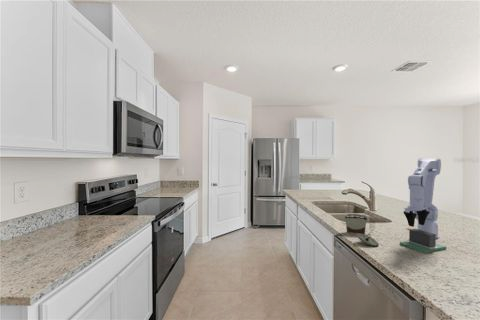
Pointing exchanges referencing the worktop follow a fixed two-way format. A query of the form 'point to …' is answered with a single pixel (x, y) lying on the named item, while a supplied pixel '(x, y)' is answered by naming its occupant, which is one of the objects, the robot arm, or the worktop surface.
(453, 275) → the worktop surface
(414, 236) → the plug housing
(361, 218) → the food container
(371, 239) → the lid
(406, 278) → the worktop surface
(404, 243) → the header board
